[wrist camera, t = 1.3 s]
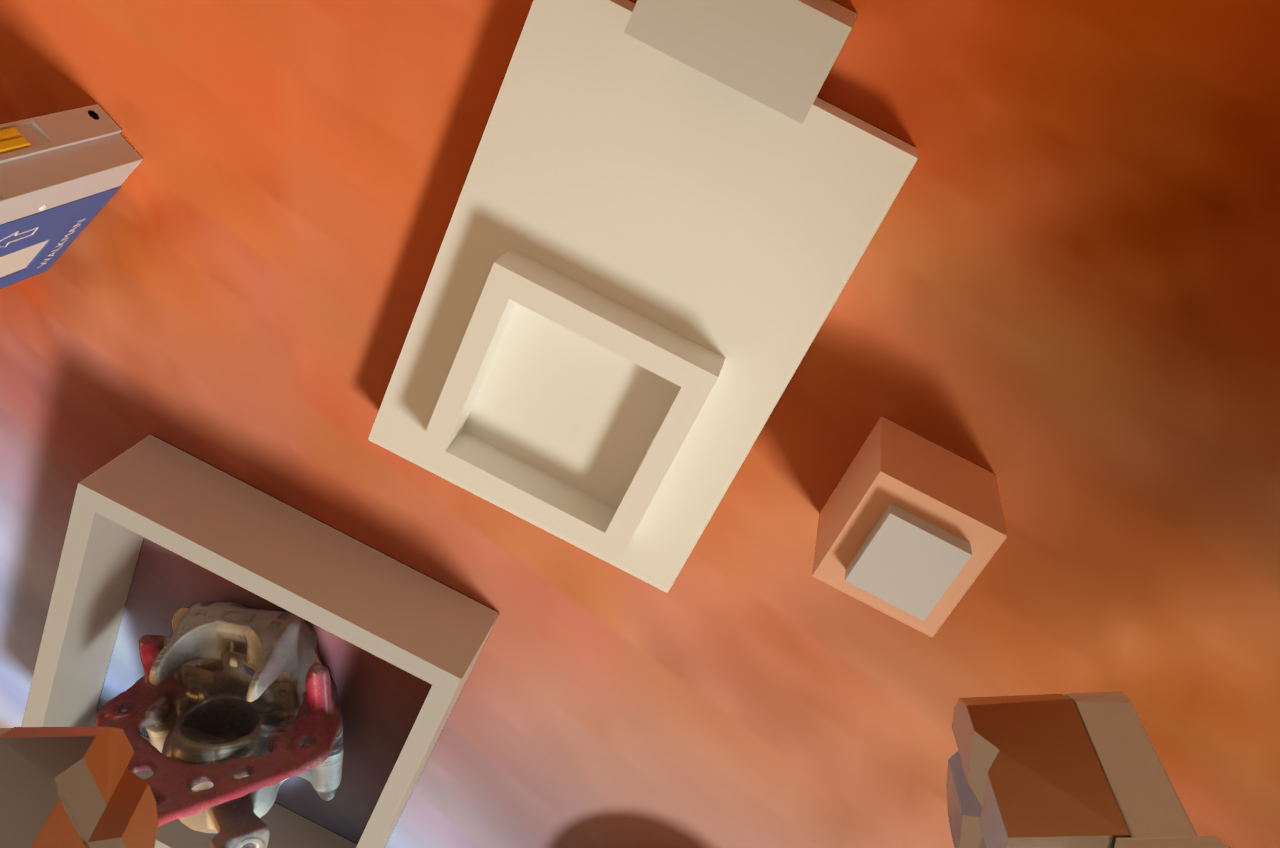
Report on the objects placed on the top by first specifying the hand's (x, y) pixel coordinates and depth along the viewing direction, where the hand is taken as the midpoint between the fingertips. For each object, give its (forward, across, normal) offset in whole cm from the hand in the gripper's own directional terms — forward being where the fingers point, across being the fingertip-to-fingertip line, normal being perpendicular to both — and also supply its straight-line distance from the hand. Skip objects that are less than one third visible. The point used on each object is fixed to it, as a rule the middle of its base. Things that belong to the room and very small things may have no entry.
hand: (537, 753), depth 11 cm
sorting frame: (+32, -20, -29) cm, 48 cm away
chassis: (+32, 0, -9) cm, 33 cm away
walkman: (+37, -24, -6) cm, 44 cm away
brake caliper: (+32, -20, -30) cm, 49 cm away
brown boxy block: (+29, +10, -18) cm, 35 cm away
